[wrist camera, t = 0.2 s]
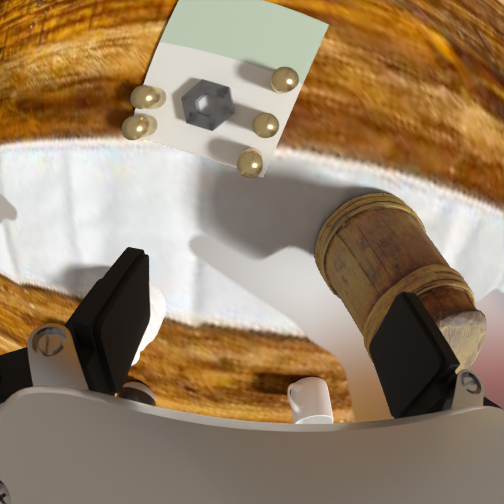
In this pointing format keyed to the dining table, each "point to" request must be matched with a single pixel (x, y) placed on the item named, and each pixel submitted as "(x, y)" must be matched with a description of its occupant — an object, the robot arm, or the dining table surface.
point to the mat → (229, 72)
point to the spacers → (262, 123)
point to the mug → (310, 401)
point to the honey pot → (152, 319)
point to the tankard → (395, 271)
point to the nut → (193, 109)
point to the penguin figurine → (137, 393)
